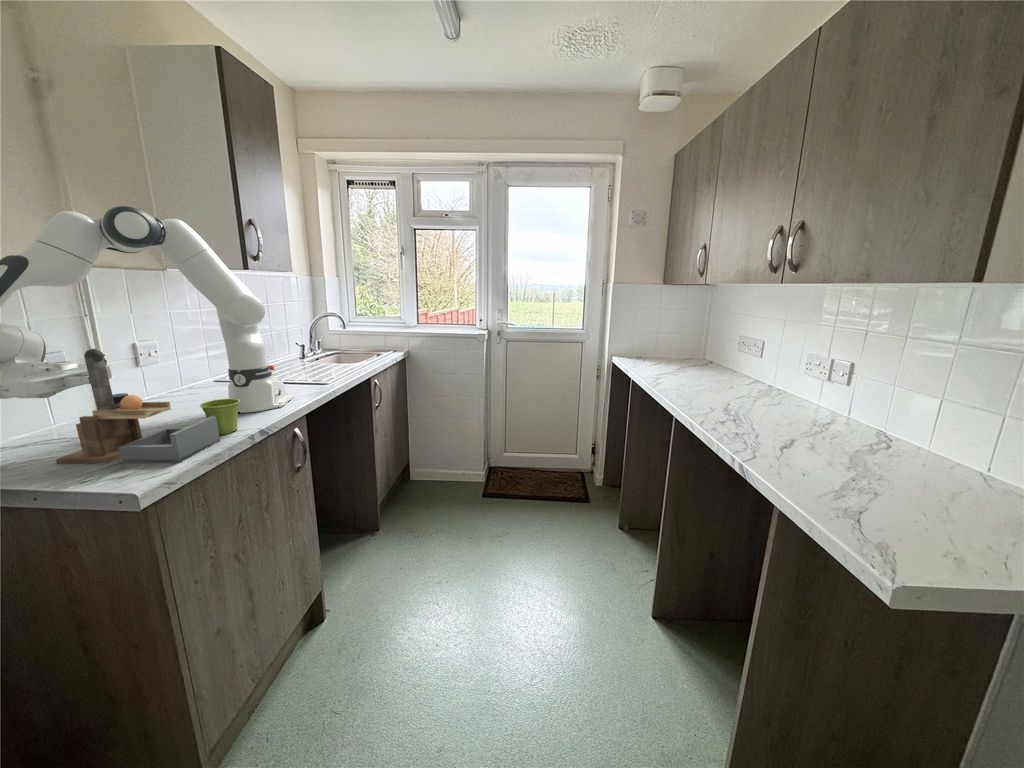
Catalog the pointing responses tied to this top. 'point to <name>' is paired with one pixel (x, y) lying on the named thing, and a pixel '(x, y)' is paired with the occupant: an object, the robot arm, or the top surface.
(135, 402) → the ball
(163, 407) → the launcher
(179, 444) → the bin
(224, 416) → the plant pot
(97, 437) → the lever stand
